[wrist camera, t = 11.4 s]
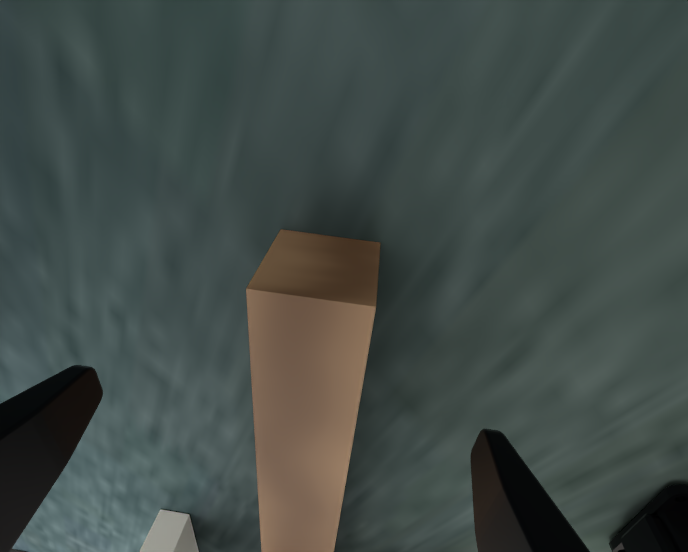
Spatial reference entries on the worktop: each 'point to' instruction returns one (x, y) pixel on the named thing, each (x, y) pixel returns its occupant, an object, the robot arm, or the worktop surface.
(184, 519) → the white bridge block
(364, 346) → the walnut bar
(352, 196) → the worktop surface
